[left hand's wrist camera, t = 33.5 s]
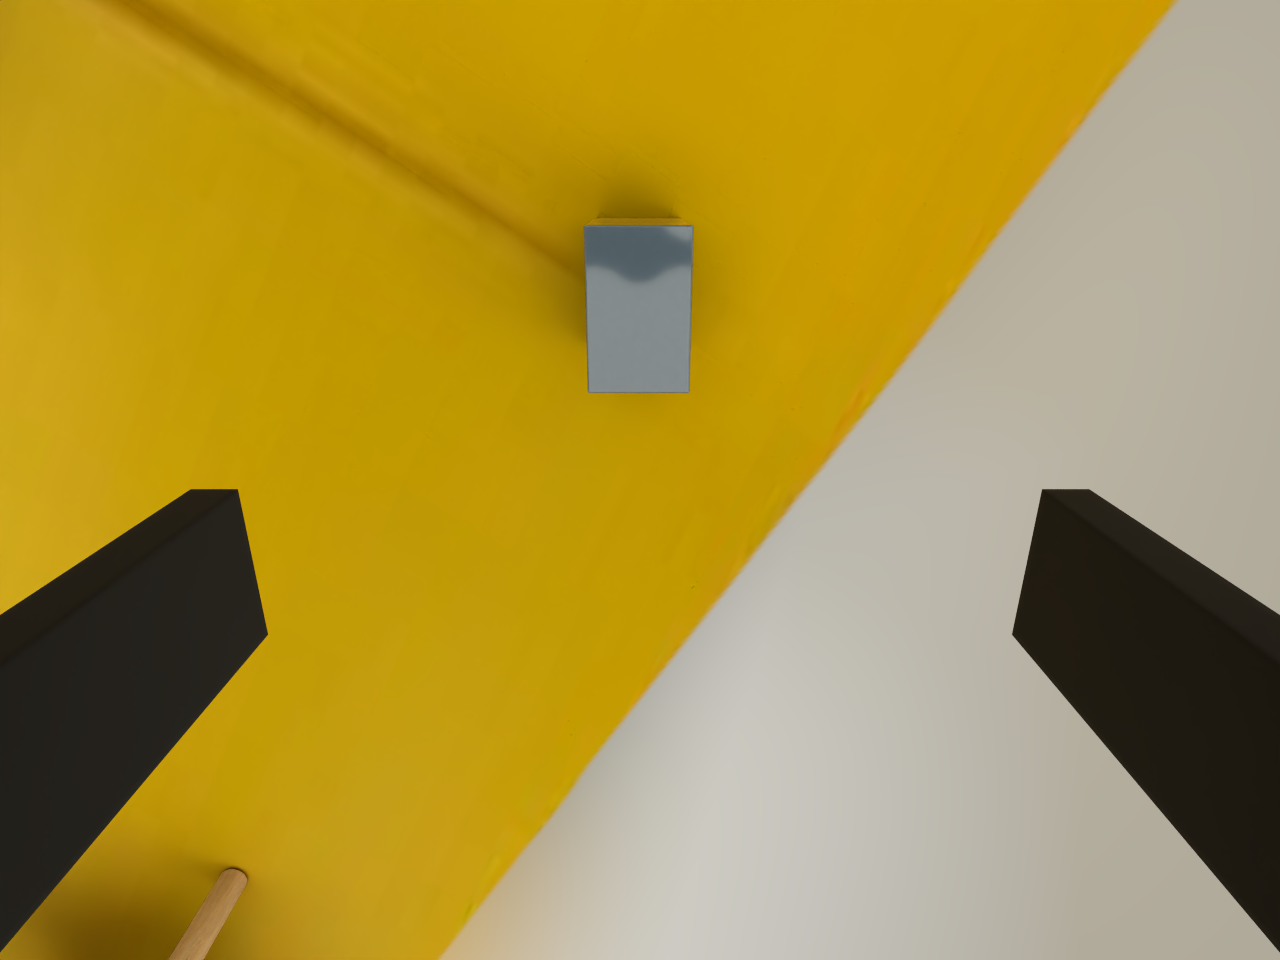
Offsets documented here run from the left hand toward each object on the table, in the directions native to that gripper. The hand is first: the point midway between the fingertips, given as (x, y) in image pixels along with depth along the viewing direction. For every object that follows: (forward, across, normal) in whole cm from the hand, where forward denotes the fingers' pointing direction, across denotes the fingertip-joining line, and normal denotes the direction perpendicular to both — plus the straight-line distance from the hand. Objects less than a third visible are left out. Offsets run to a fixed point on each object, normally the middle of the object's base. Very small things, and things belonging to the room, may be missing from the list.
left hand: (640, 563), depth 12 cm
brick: (+41, 0, 0) cm, 41 cm away
